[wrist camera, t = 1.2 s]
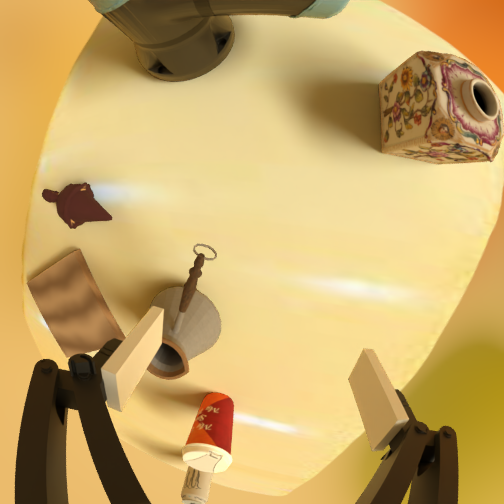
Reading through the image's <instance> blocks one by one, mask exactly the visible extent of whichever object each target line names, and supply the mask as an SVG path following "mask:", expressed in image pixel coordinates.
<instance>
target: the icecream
mask: <svg viewBox="0 0 504 504" xmlns="http://www.w3.org/2000/svg"><path fill="white" fill-rule="evenodd" d="M42 197H43V198H44V199H45V200H46V201H48V202H50V203H51V202H53V203H54V202H56V205H57V212H58V215H59V217H61V218H62V219H63V220H64V222H65V223H67V224H68V226H69V227H70V229H71V228H74V229H75V228H76V227H77V226H79V225H82V224H83V223H84V222H91V221H109V220H112V216H111V215H110V214H109V213H108V212H107V211H106V210H105V209H104V208H103V207H102V206H101V205H100V204H99V203H98V202H97V201H96V200H95V199H94V194H93V192H92V190H91V188H90V185H89V184H87V183H84V184H69V185H68V186H66V187H65V188H64V189H63V190H62V191H61V192H60V193H59V195H58V192H57V191H52V190H48V189H44V190H43V192H42Z"/></svg>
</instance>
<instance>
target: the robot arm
mask: <svg viewBox="0 0 504 504" xmlns="http://www.w3.org/2000/svg"><path fill="white" fill-rule="evenodd" d="M349 1H350V0H89V2H90V3H92V5H93V6H94V7H95V9H96V11H97V12H99V13H101V14H102V15H103V16H104V17H105V18H107V19H108V20H109V21H110V22H111V23H113V24H114V25H115V26H116V27H117V28H118V29H120V30H121V31H122V32H123V33H124V34H125V35H127V36H128V37H129V38H130V39H131V40H132V41H133V42H134V45H135V49H136V53H137V57H138V60H139V62H140V63H141V65H142V66H143V67H144V68H145V69H146V70H147V71H148V72H149V73H150V74H152V75H153V76H154V77H156V78H159V79H161V80H165V81H185V80H190V79H193V78H196V77H199V76H201V75H204V74H206V73H207V72H209V71H211V70H212V69H214V68H215V67H216V66H218V65H219V64H220V63H221V62H222V61H223V60H224V59H225V58H226V56H227V55H228V54H229V52H230V50H231V48H232V46H233V43H234V29H233V25H232V21H231V19H230V17H229V15H279V16H289V17H290V18H299V17H308V18H319V19H325V18H330V17H332V16H335V15H337V14H338V13H340V12H341V11H342V10H343V9H344V8H345V6H346V5H347V4H348V2H349ZM163 315H164V309H163V308H159V307H156V306H152V307H151V308H150V310H149V311H148V312H147V313H146V314H145V316H144V317H143V318H142V319H141V320H140V321H139V323H138V324H137V325H136V326H135V327H134V329H133V330H132V331H131V332H130V333H129V335H128V336H127V337H126V338H125V340H124V341H121V340H119V339H116V338H113V339H111V340H109V341H107V342H106V343H105V344H104V346H103V347H102V348H101V349H100V350H99V352H97V354H96V355H95V356H94V357H93V358H92V357H91V356H89V355H87V354H81V353H79V354H75V355H73V356H71V357H70V359H69V361H68V365H69V369H70V371H67V370H62V369H58V365H57V364H56V362H54V361H53V360H50V359H43V360H40V361H38V362H37V363H36V365H35V367H34V371H33V374H32V378H31V381H30V385H29V389H28V393H27V397H26V402H25V406H24V411H23V416H22V422H21V427H20V433H19V441H18V448H17V458H16V472H15V504H68V494H67V478H66V431H67V430H66V429H67V414H68V408H70V409H74V410H78V412H79V416H80V419H81V423H82V427H83V431H84V434H85V437H86V441H87V444H88V447H89V450H90V453H91V456H92V459H93V462H94V464H95V467H96V470H97V472H98V474H99V478H100V480H101V482H102V485H103V487H104V490H105V492H106V494H107V496H108V498H109V500H110V503H111V504H151V503H150V501H149V500H148V498H147V496H146V494H145V493H144V491H143V489H142V487H141V485H140V483H139V482H138V480H137V478H136V476H135V474H134V472H133V470H132V468H131V466H130V463H129V461H128V459H127V457H126V455H125V453H124V451H123V448H122V446H121V443H120V441H119V439H118V436H117V434H116V431H115V429H114V426H113V423H112V421H111V418H110V415H109V412H108V409H107V406H106V403H105V402H106V400H107V404H108V407H110V408H112V409H115V410H117V411H120V412H122V410H123V408H124V407H125V405H126V403H127V401H128V400H129V398H130V396H131V394H132V393H133V391H134V389H135V388H136V386H137V384H138V382H139V381H140V379H141V377H142V376H143V374H144V372H145V371H146V369H147V367H148V366H149V364H150V362H151V361H152V359H153V357H154V356H155V354H156V352H157V351H158V349H159V347H160V346H161V344H162V330H163ZM348 380H349V383H350V385H351V388H352V391H353V394H354V397H355V400H356V403H357V406H358V409H359V412H360V415H361V418H362V421H363V424H364V427H365V430H366V434H367V437H368V440H369V443H370V446H371V450H372V451H379V450H383V449H385V447H386V446H387V445H388V444H389V445H390V448H391V449H390V450H389V451H388V452H387V453H386V454H385V455H384V456H383V457H382V458H381V460H383V461H382V463H381V464H380V466H379V468H378V469H377V471H376V473H375V474H374V476H373V478H372V479H371V481H370V482H369V484H368V485H367V487H366V489H365V490H364V492H363V493H362V494H361V496H360V497H359V499H358V500H357V502H356V503H355V504H401V502H402V500H403V498H404V496H405V494H406V492H407V490H408V488H409V485H410V483H411V481H412V483H411V489H410V495H409V500H408V504H458V450H457V438H456V432H455V431H454V430H453V429H452V428H451V427H449V426H443V427H442V428H440V430H439V431H432V430H429V429H428V427H427V425H426V424H424V423H422V422H419V421H417V420H416V418H415V416H414V414H413V412H412V410H411V408H410V407H409V405H408V403H407V402H406V399H405V397H404V395H403V394H402V393H401V392H400V391H399V390H394V388H393V386H392V384H391V382H390V380H389V378H388V376H387V374H386V372H385V370H384V369H383V367H382V365H381V363H380V361H379V359H378V357H377V356H376V354H375V352H374V350H373V349H363V351H362V353H361V355H360V357H359V359H358V361H357V363H356V365H355V367H354V369H353V371H352V373H351V375H350V377H349V379H348Z"/></svg>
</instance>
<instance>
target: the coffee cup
mask: <svg viewBox="0 0 504 504" xmlns="http://www.w3.org/2000/svg"><path fill="white" fill-rule="evenodd" d="M233 412H234V404H233V401H232V399H231V398H230V397H228V396H227V395H225V394H222V393H210V394H208V395H206V396H205V397H204V399H203V402H202V404H201V406H200V409H199V411H198V414H197V416H196V419H195V422H194V424H193V427H192V429H191V432H190V435H189V437H188V440H187V442H186V445H185V446H183V448H182V450H181V452H182V455H183V460H184V462H185V463H186V464H187V465H189V466H190V467H192V468H194V469H197V470H199V471H203V472H210V473H218V472H222V471H225V470H226V469H227V468H228V466H229V465H230V464H231V463H232V457H231V442H232V427H233Z"/></svg>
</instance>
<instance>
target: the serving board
mask: <svg viewBox="0 0 504 504" xmlns="http://www.w3.org/2000/svg"><path fill="white" fill-rule="evenodd" d="M27 285H28V287H29V289H30V291H31V294H32V296H33V298H34V300H35V302H36V304H37V306H38V308H39V310H40V312H41V314H42V316H43V318H44V320H45V322H46V323H47V325H48V327H49V329H50V331H51V332H52V334H53V336H54V338H55V339H56V341H57V343H58V344H59V346H60V348H61V349H62V351H63V352H64V354H65V355H66V357H71V356H73V355H75V354H79V353H81V354H84V353H87V352H91V351H95V350H99V349H101V348H102V347H103V346H104V344H105V343H106V342H107V341H109V340H111V339H113V338H116V339H119V340H121V341H124V340H125V338H126V337H125V336H124V334H123V332H122V331H121V329H120V327H119V326H118V324H117V322H116V320H115V319H114V317H113V315H112V313H111V312H110V310H109V308H108V306H107V304H106V302H105V300H104V298H103V297H102V295H101V293H100V291H99V289H98V287H97V285H96V283H95V281H94V279H93V276H92V274H91V272H90V270H89V268H88V266H87V264H86V261H85V259H84V257H83V255H82V252H81V250H80V249H79V250H76V251H74V252H72V253H71V254H69V255H67V256H66V257H64V258H63V259H61V260H60V261H58V262H57V263H55V264H54V265H52V266H51V267H49V268H48V269H46V270H45V271H43V272H42V273H40V274H39V275H38V276H36V277H35V278H33V279H32V280H30V281H29V282H28V283H27Z"/></svg>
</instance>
